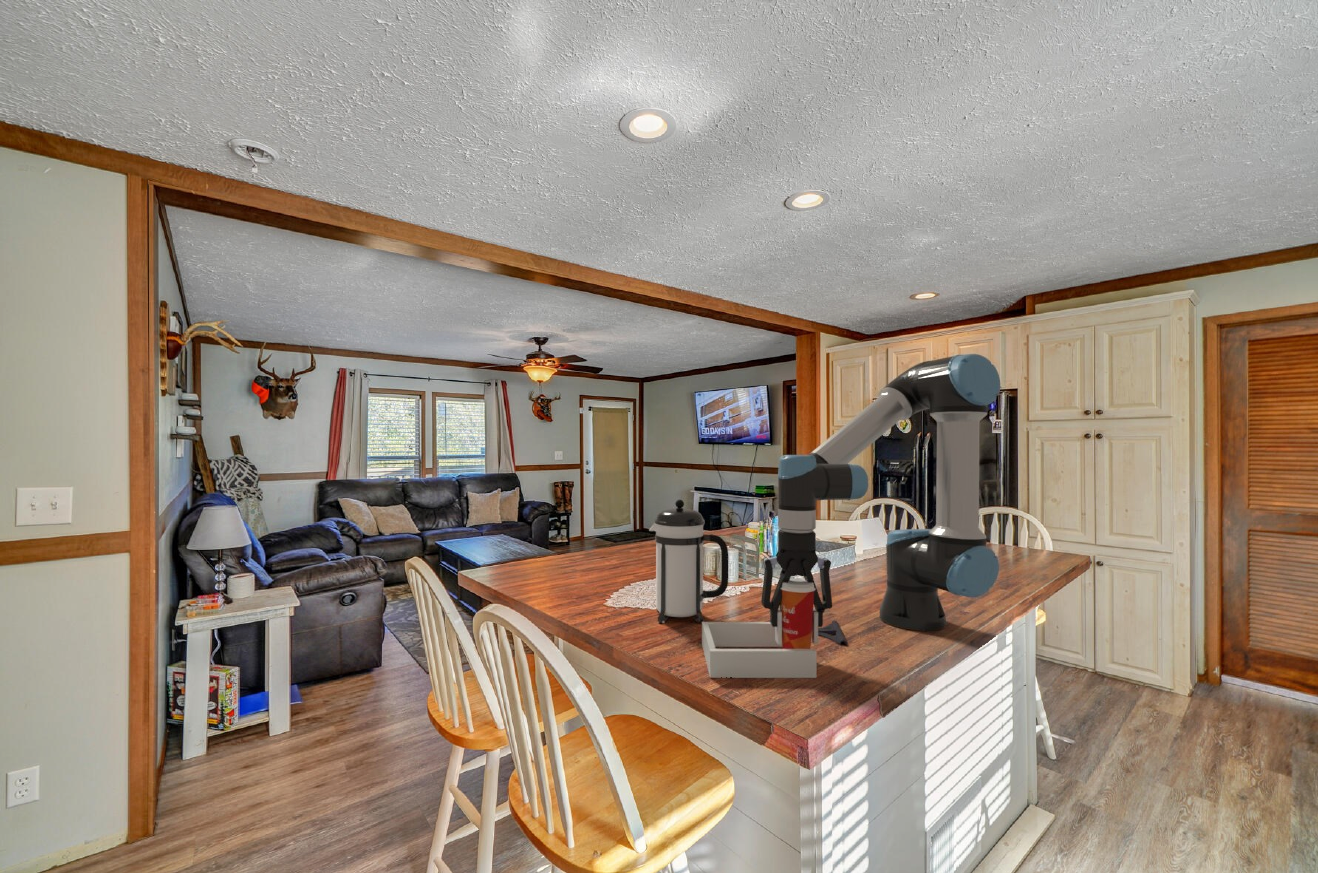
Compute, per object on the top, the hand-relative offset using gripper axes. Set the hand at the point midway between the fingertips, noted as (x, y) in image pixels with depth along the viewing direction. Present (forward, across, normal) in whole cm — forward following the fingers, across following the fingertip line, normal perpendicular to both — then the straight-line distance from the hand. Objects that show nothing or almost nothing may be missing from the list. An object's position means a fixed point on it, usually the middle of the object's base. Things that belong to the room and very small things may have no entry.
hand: (796, 642), depth 114 cm
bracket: (+4, -8, -17) cm, 19 cm away
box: (+4, +8, 0) cm, 9 cm away
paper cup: (+2, 0, 0) cm, 2 cm away
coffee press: (+4, +21, -29) cm, 36 cm away
